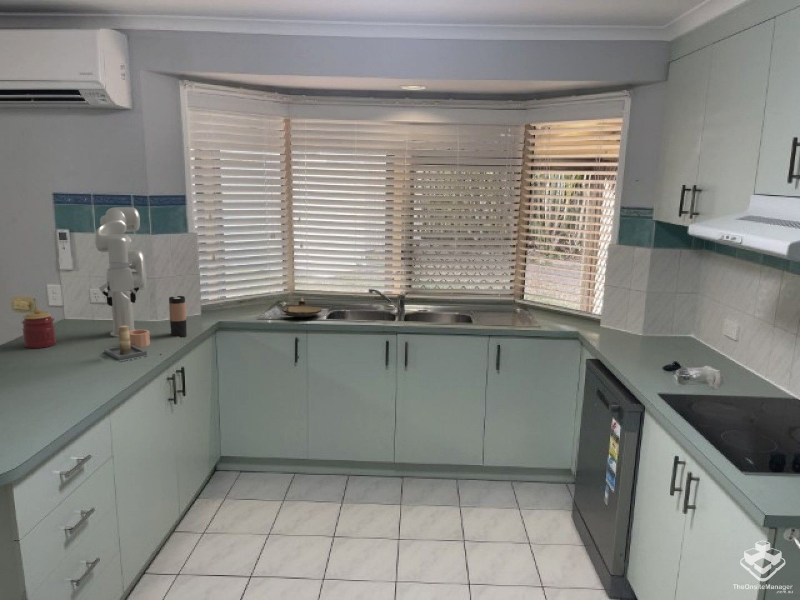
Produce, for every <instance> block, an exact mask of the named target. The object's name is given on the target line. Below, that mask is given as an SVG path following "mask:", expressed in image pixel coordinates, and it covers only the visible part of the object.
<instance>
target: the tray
mask: <svg viewBox="0 0 800 600" xmlns="http://www.w3.org/2000/svg"><path fill="white" fill-rule="evenodd" d="M130 346H131V353H130V354H120V345H119V346H115V347H110V348H109V347H108V348H104V349H103V351H104V352H103V353H105V354H106V355H109V356H110V357H112V358H114V359H115V360H117V361H120V363H123V361H125V362H128V360H130V361H133V360H132V359H135V360H138V359H137V358H139V359H142V358H141V357H144V358H147V357H148V356H147V355H148V353H147V352H148V351H146V350H144V349H143V348H142V347H136V346H134V345H132V344H130Z"/></svg>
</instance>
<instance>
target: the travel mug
mask: <svg viewBox="0 0 800 600" xmlns="http://www.w3.org/2000/svg"><path fill="white" fill-rule="evenodd" d="M168 303H169V304H168V305H169V306H168V307H169V324H170V325H169V326H170V336H173V337H179V338H182V337H183V338H185V337H187V336H188V335H187V332H188V331H187V311H186V308H187V307H186V297H185V296H183V295H178V296H175V297H174V296H170V297H169V298H168Z"/></svg>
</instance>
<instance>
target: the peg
mask: <svg viewBox="0 0 800 600" xmlns="http://www.w3.org/2000/svg"><path fill="white" fill-rule="evenodd" d="M118 333H119V337H118V343H119V346H120V354H130V353H131V346H130V332H129V326H120V327H118Z"/></svg>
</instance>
